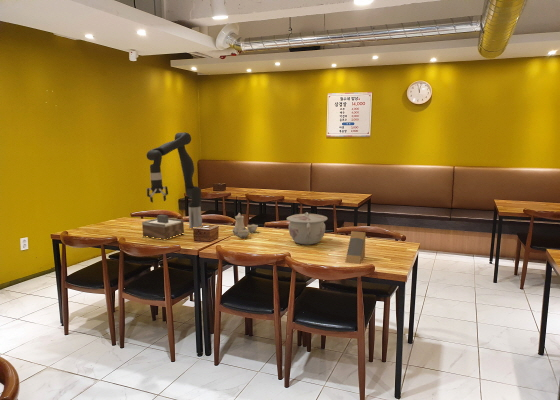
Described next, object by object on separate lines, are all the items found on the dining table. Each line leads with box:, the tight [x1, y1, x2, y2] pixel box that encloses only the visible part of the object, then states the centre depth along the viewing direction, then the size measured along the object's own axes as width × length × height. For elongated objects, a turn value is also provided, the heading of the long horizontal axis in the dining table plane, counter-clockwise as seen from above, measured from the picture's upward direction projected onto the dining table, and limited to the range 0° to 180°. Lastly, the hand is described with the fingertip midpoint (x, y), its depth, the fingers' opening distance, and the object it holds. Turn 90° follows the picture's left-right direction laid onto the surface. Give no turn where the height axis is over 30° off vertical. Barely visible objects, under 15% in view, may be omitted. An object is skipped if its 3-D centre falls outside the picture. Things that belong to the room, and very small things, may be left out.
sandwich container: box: [344, 230, 367, 265], centre depth 235 cm, size 9×15×15 cm, turn 157°
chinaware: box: [232, 212, 259, 239], centre depth 299 cm, size 28×17×17 cm, turn 168°
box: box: [141, 217, 185, 240], centre depth 300 cm, size 19×22×11 cm
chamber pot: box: [286, 211, 328, 246], centre depth 275 cm, size 28×28×21 cm
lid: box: [149, 214, 181, 227], centre depth 299 cm, size 17×20×6 cm
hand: (158, 201), depth 291 cm, fingers open, 8 cm apart
